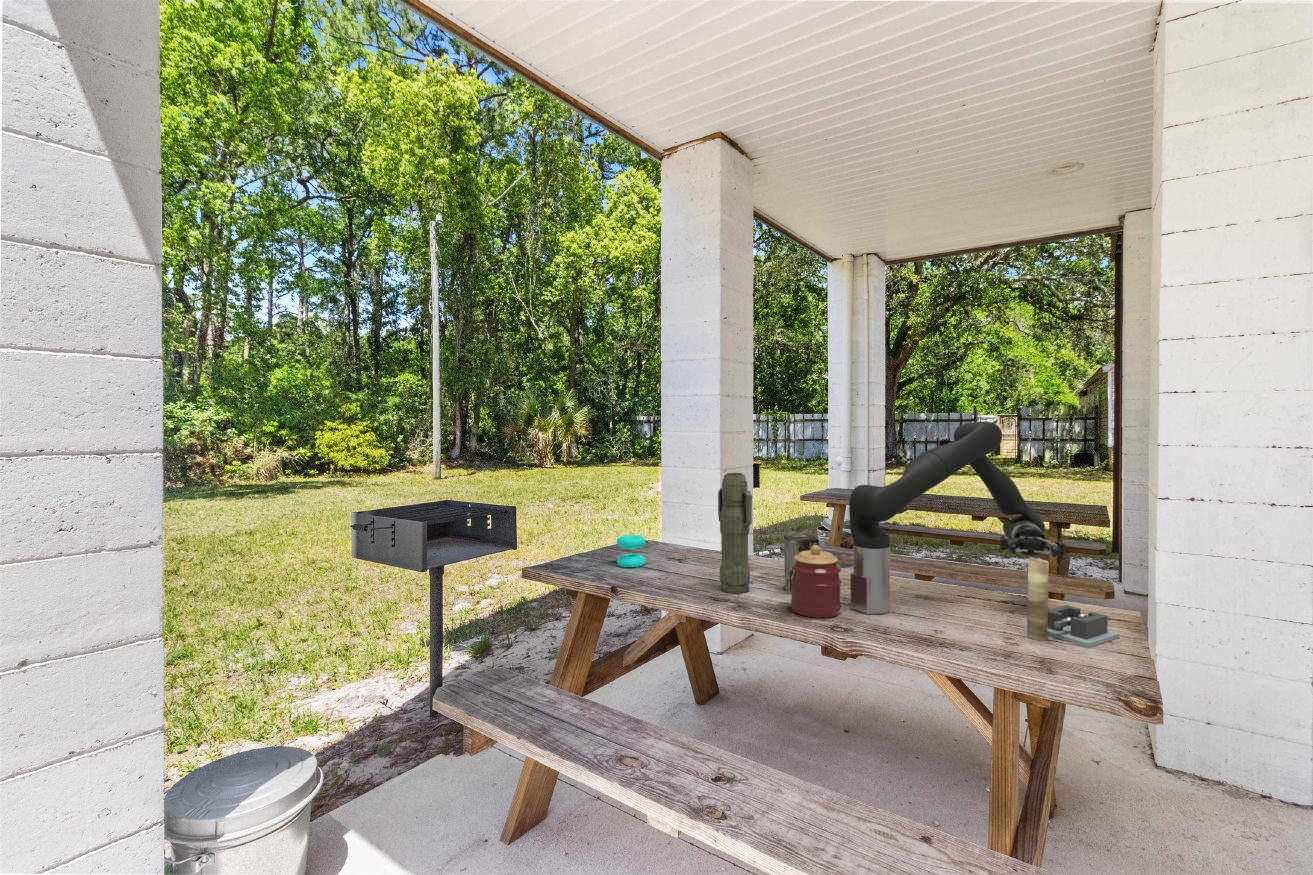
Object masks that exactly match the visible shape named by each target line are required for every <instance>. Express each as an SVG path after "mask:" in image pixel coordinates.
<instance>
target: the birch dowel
mask: <svg viewBox="0 0 1313 875" xmlns="http://www.w3.org/2000/svg"><path fill="white" fill-rule="evenodd" d="M1027 562H1028V563H1027V608H1026V609H1027V614H1026V615H1027V616H1026V617H1027V618H1026V620H1027V621H1026V622H1027V623H1026V624H1027V626H1026V637H1027V638H1028V639H1031V640H1035V641H1040V642H1042V641H1043V642H1044V641H1045V642H1046V641H1048V610H1049V567H1050V564H1049V563H1050V562H1049V561H1048V560H1045V559H1039V558H1029V559H1028V560H1027Z"/></svg>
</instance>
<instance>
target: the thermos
mask: <svg viewBox="0 0 1313 875" xmlns="http://www.w3.org/2000/svg"><path fill="white" fill-rule="evenodd" d="M717 505H718V506H717V509H718V510H717V513H718V521H719V532H720V535H721V563H720V566H719V581H720V582H719V583H720V588H719V589H720V591H721V592H723V593H725V594H730V595H744V594H746V593H749V592H750V583H751V568H750V565H749V534H750V526H751V524H752V522H753V521H752V516H753V515H752V514H753V513H752V510H753V507H752V506H753V495H752V492H751V490H748V481H747V478H746V475H745V474H743V472H728V473H726V474H724V476H723V479H722V482H721V487H720V488H719V490H718V492H717Z"/></svg>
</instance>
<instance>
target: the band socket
mask: <svg viewBox="0 0 1313 875" xmlns="http://www.w3.org/2000/svg"><path fill="white" fill-rule="evenodd" d="M1089 612H1090V611H1089ZM1095 612H1096V611H1092V612H1090V613H1088V617H1087V618H1083V619H1081V618H1078V617H1077V616H1078V614H1080V613H1081V608H1079V607H1075V606H1072V605H1071V606H1070V605H1067V604H1064V605H1062V606H1061V605H1060V606H1058V607H1054V608H1050V609H1049V608H1048V636H1049V637H1051V638H1055V639H1057V640H1058V639H1059V640H1062V641H1065V642H1068V643H1071V644H1074V645H1078V646H1080V647H1083V648H1087V649H1089V648H1093V647H1095V646H1099V645H1101V644H1104V643H1107V642H1110V641H1113V640H1116V639H1119V638H1120V633H1119V632H1116V631H1112V630H1110V629H1109V630H1108V626H1109V625H1108V624H1109V622H1108V621H1109V619H1108V618H1109V616H1108V615H1106V614H1101V613H1098V612H1096V613H1095ZM1066 617H1070V618H1071V626H1066V627H1062V628H1057V627H1054V621H1058V620H1062V619H1065V618H1066ZM1048 636H1047V637H1048Z"/></svg>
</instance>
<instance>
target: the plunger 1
mask: <svg viewBox="0 0 1313 875" xmlns="http://www.w3.org/2000/svg"><path fill="white" fill-rule="evenodd" d="M1066 626H1071V618H1070V617H1066V618H1065V619H1062V620H1058V621H1054V627H1057V628H1062V627H1066Z"/></svg>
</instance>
